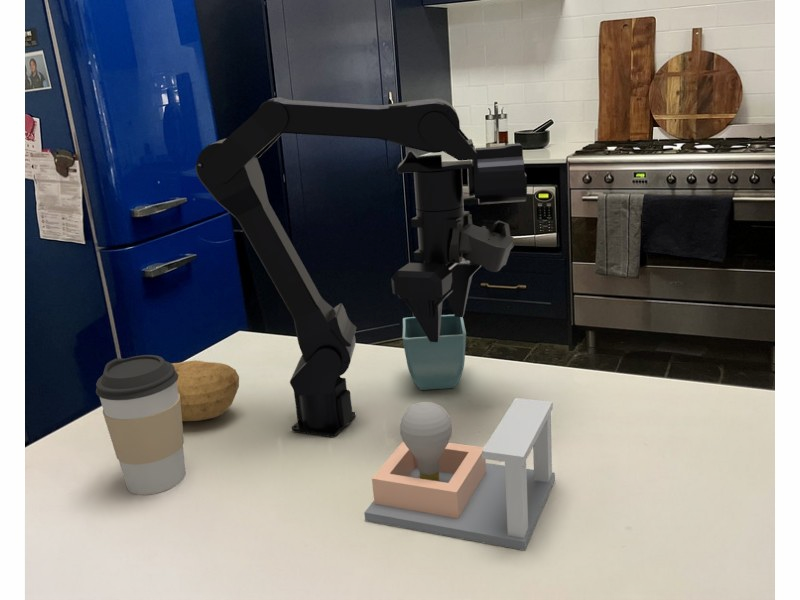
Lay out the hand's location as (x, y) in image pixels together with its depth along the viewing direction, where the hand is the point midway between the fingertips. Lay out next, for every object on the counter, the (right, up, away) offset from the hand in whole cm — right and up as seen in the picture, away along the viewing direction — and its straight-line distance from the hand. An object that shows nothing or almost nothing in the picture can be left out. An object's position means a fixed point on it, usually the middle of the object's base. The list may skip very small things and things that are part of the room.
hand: (447, 328), depth 97 cm
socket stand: (+1, -18, -15) cm, 23 cm away
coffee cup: (-35, -18, -5) cm, 40 cm away
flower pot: (-1, -9, +15) cm, 17 cm away
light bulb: (-3, -17, -14) cm, 22 cm away
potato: (-35, -13, +10) cm, 38 cm away
